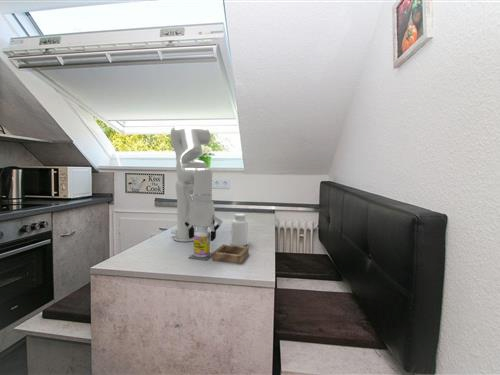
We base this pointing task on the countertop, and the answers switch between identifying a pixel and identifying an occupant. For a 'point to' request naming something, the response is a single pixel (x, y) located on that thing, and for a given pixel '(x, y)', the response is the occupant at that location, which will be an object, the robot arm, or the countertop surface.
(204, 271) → the countertop surface
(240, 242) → the pill bottle
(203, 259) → the mat
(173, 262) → the countertop surface
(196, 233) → the supplement bottle
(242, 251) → the block
